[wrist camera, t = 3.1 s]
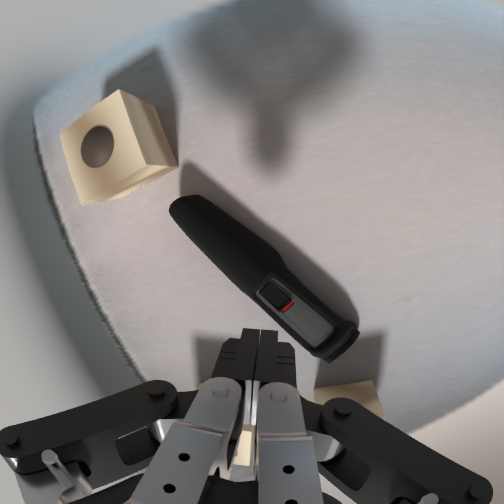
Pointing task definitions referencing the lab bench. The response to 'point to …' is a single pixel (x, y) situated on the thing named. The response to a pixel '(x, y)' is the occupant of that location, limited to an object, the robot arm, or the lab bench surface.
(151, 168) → the maple block
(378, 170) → the lab bench surface
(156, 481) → the robot arm
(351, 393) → the maple block
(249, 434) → the maple block
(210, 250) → the electric trimmer
